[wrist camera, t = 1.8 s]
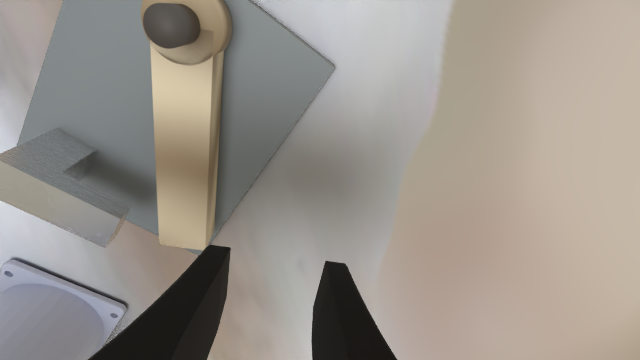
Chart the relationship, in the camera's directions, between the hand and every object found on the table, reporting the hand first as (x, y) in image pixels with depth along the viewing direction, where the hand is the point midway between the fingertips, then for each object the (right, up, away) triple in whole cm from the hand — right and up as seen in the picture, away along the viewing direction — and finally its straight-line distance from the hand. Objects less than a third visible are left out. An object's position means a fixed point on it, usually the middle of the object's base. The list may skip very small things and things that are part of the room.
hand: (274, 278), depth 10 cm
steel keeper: (-10, +4, +7) cm, 13 cm away
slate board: (-6, +7, +7) cm, 12 cm away
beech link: (-5, +6, +6) cm, 10 cm away
